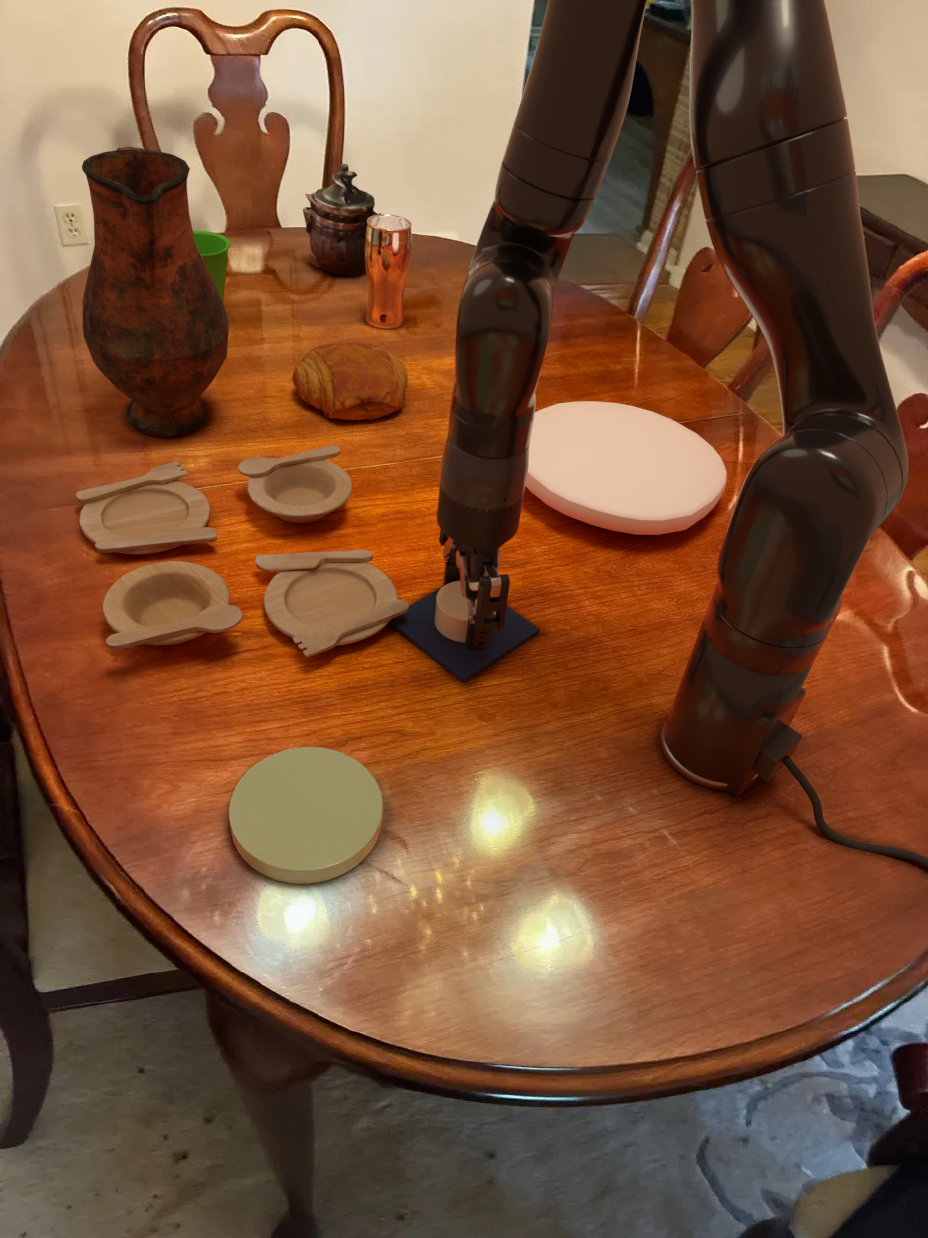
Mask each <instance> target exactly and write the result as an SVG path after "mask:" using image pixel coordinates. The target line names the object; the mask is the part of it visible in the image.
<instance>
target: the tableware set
mask: <svg viewBox="0 0 928 1238" xmlns="http://www.w3.org/2000/svg"><path fill="white" fill-rule="evenodd" d="M340 455H341V448H340V446H339V445H336V444H331V445H326V446H321V447H317V448H314V449H309V450H305V451H302V452H297V453H293V454H289V455H286V456H282V457H281V456H280V457H275V458H273V457H267V456H252V457H249V458H246V459H244V460H242V461H240V462H239V463H238V465H237V470H238V472H239V473H240V474H241V475H242V476H243V475H244V476H246V477H249V479H248V481H247V493H248V495H249V497H250V500H251V501H253V503H255V505H256V506H257V507H258V508H260V509H261V510H263V511H265V512H267V513H269V514H272V515H274V516H276V517H278V519H279V518H280V519H281V520H283V521H286V522H289V523H295V524H307V523H312V522H316V521H318V520H320V519H322V518H324V517H325V516H326V515H328V514H330V513H332V512H335V511H336V510H338V509H339V508H341V507H343V506H344V504H346V502H348V500H349V498H350V497H351V494H352V492H353V483H352V482H353V481H352V479H351V477H350V475H349V474H348V472H347V471H345V469H343V468H341V466H339V465H337V464H336V463H333V462H332V461H328V460H329V459H333V458H337V457H339V456H340ZM187 476H189V473H188V470H186V469H185V468H184V467H183V466H181V463H180V462H179V461H178V460H175V461H171V462H168V463H166V464H165V463H164V464H162V465H159V466H156V467H153V468H152V469H150V470H149V471H148V472H147V473H146V474H144V475H141V476H136V477H133V478H129V479H125V480H121V481H116V482H113V483H109V484H104V485H100V486H95V487H90V488H86V489H82V490H79V491H77V492H76V493H75V498H76V501H77V502H78V503H79V504H84V505H83V507H82V508H81V510H80V514H79V525H80V529H81V531H82V533H83V534H84V536H85V537H86V538H87V540H89V542H91V543H92V544H94V546H95V550H96V552H98V553H99V554H100V553H101V554H110V553H118V554H124V555H125V554H126V555H148V554H149V555H150V554H157V553H158V554H159V553H162V552H165V551H169V550H172V549H175V548H178V547H180V546H185V545H194V544H195V545H196V544H197V545H198V544H205V543H214V542H217V541H218V534H217V531H216V530H215V529H214V528H213V527H209V526H207V524H208V523H209V520H210V517H211V508H210V507H211V506H210V503H209V501H208V499H207V497H206V496H205V495H204V494H203V493H202V492H201V491H200V490H199V489H197V488H196V487H194V486H193V485H190V484H187V483H185V482H182V481H179V480H180V479H182V478H185V477H187ZM373 557H374V555H373V552H372V551H371V550H368V549H350V550H349V549H348V550H329V551H328V550H327V551H305V552H289V553H273V554H258V555H255V567H256V568H257V569H258V570H261V571H263V572H278V573H277V574H275V575H274V576H273V577H272V578H271V580H270V582H269V583H268V585H267V587H266V588H265V591H264V595H263V605H264V611H265V614H266V616H267V618H268V620H269V622H270V623H271V624H272V625H273V626H274V627H275V628H276V629H277V630H278V631H280V632H281V633H283V634H284V635H286V636H288V637H289V638H291V639H292V641H293V643H294V644H295V645H297V647H298V649H299V650H300V651H302V654H303V655H304V657H306V658H311V657H313V656H316V655H319V654H322V653H324V652H327V651H329V650H332V649H334V648H335V647H336V646H344V645H349V644H353V643H357V642H360V641H363V640H365V639H368V638H370V637H372V636H374V635H375V634H377V633H379V632H380V631H381V630H383V629H384V628H385V627H386V626H387V625H389V624H388V622H389V621H390V620H391V619H392V618H395V617H397V616H400V615H402V614H405V613H406V612H408V610H409V605H410V604H409V603H408V602H407V601H406V600H404V599H399V598H398V597H399V596H398V592H397V588H396V586H395V584H394V582H393V581H392V580H391V578H389V576H388V575H386V574H385V572H383V571H382V570H381V569H380V568H378V567H376V566H375V565H373V564H371V563H370V562H371V561H372V560H373ZM230 593H231V592H230V589H229V587H228V584H227V583H226V581H225V580H224V579H223V578H222V576H221V575H220V574H218V573H217V572H216V571H214V570H212V569H210V568H208V567H206V566H203V565H201V564H198V563H194V562H189V561H182V560H180V561H179V560H168V561H159V562H154V563H149V564H146V565H143V566H140V567H137V568H135V569H133V570H130V571H129V572H127V573H125V574H124V575H122V576H120V577H119V578H118V579H117V580H115V582H114V583H112V585H111V586H110V587H109V589H108V590H107V591H106V593H105V596H104V598H103V602H102V603H103V604H102V610H103V615H104V619H105V620H106V623H107V624H108V626H109V627H110V628H111V629H112V630H113V631H114V632H115V633H112V634H110V635H109V636H107V638H106V640H105V643H106V646H107V649H109V650H112V651H119V650H124V649H128V648H132V647H137V646H141V645H148V646H149V645H150V646H167V645H168V646H169V645H178V644H181V643H185V642H187V641H192V640H194V639H196V638H198V637H200V636H203V635H205V634H206V633H211V634H212V633H213V634H218V633H223V632H227V631H230V630H232V629H233V628H235V627H237V626H238V625H239V624H240V623H241V622H242V620H243V611H242V610H241V609H240V607H238V606H236V605H233V604H230V602H231V594H230Z"/></svg>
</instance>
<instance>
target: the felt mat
mask: <svg viewBox="0 0 928 1238" xmlns="http://www.w3.org/2000/svg"><path fill="white" fill-rule="evenodd" d="M442 587H443V586H441V587H440V588H438V589H436V590H434V591H431V592H430V593H429V594H426V595H425V596H423V597H421V598H420V599H418V600H416V601H415V602H413V603H410V604H408V605H409V610H408V612H406V613H405V614H402V615H400V616H397V617H395V618H392V619H391V620H390V621H389V622H388V624H387V625H388V626H390V627H392V629H394V630H395V631H397V632H398V633H399V634H400V635H402V636H403V637H404V638H406V639H407V640H408V641H409V642H410V643H412V644H413V645H415V646H416V647H417V648H418V649H419V650H420V651H422V652H423V653H424V654H426V655H427V656H428V657H430V658H431V659H432V660H433V661H434V662H436V663H437V664H439V665H440V666H441V667H442V668H444V670H446V671H447V672H448V673H450V674H451V675H453V676H454V677H455V678H457V679H458V680H459V681H460V682H461V683H463V684H464V683H466V682H468V681H470V680H471V679H472V678H473V677H475V676H477V675H479V674H480V673H481V672H483V671H484V670H486V669H487V668H489V667H490V666H492V665H493V664H495V663H497V662H498V661H500V660H501V659H503V658H504V657H506V656H507V655H509V654H510V653H512V652H513V651H515V650H516V649H518V648H519V647H521V646H522V645H524V644H525V643H527V642H528V641H530V640H532V639H533V638H534V637H536V636H538V635H539V634H540V632H541V628H539V627H538V626H536V625H535V624H534V623H532V622H531V621H530V620H528V619H527V618H525V617H523V616H522V615H521V614H519V613H518V612H517V611H515V610H514V609H513V608H511V607H509V606H508V605H507V606H506V613H505V620H504V627H503V629H501V630H492V632H491V635H490V641H489V646H488V647H487V648H486V649H481V650H472V651H469V650H468V649H467V647H466V645H465V642H458V641H454V640H451V639H449V638H447V637H445V636H444V635H442V634H441V633H440V632H439V631H438V629H437V628H436V626H435V623H434V616H435V607H436V598H437V594H438V592H439V590H440V589H441V588H442Z"/></svg>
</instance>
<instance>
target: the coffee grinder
mask: <svg viewBox="0 0 928 1238" xmlns="http://www.w3.org/2000/svg"><path fill="white" fill-rule="evenodd" d="M357 177H358V174H357V173H356V172H355V171H350V170H349V164H348V163H341V164H340V171H338V172H336V173H335V174H332V177H331V178H332V180H333V182H335V183H333V184H330V186H329V187H328V186H327V187H323V188H318V189H316V191H314V192H312V193H309V194H308V193H305V194H304V196H305V197H306V199H307V201H308V202H309V206H305V207H304V208H303V209H302V213H303V217H304V222H305V223H304V224H305V232H306V233H307V234H308V236H309V247H310V251H311V253H312V255H313V256H314V258H315V260H314V261H313V262H311V265H312V266H315V268H319V269H322V270H323V271H324V272H326V273H328V274H329V275H334V274H336V275H338V276H343V275H345V276H349V277H352V278H353V277H355V276H356V275H358V274H359V273H361V272H362V271H364V272H366V269H365V259H364V247H365V235H366V226H367V219H368V218H369V217H371V216H373V215H379V214H382V213H381V212H379V213H378V212H376V211H375V210H374V209H375V204H376V203H375V197H374V196H373V195H372V194H371V193H368V192H367V191H364V190H361V189H359V188H358V186H356V185H354V184H353V179H354V178H357Z"/></svg>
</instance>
